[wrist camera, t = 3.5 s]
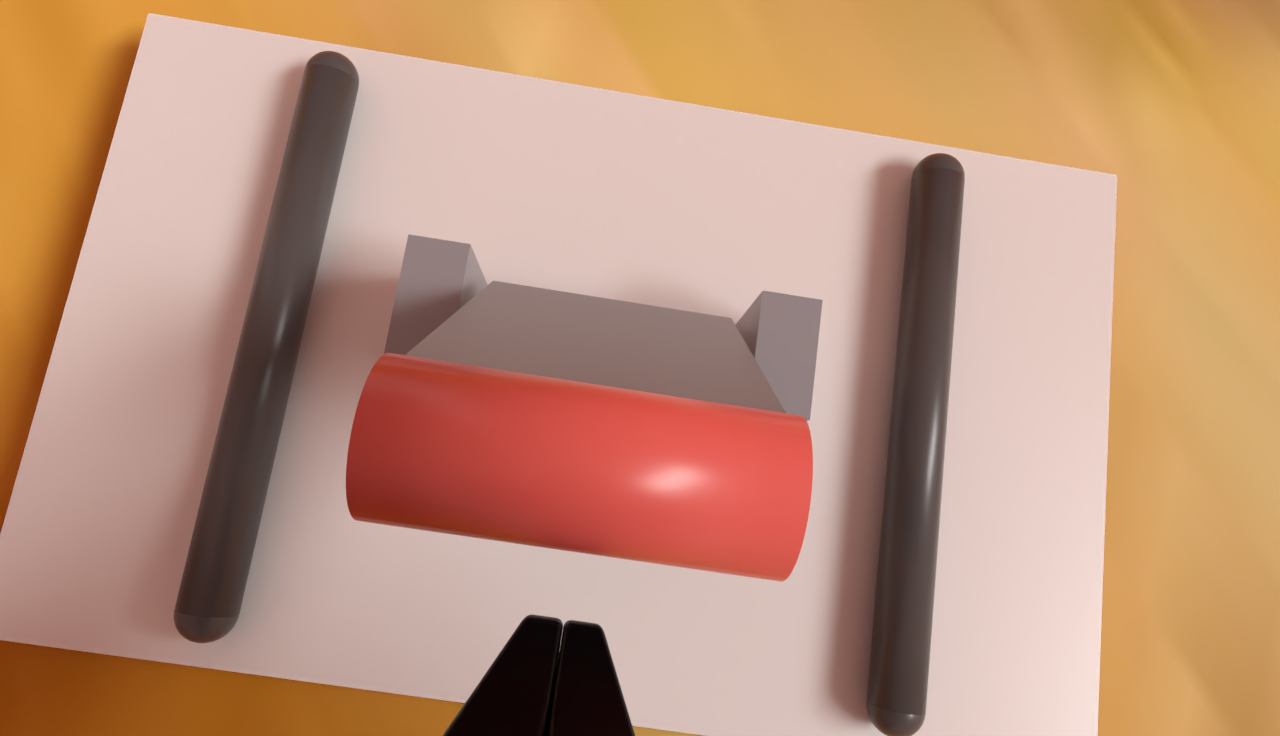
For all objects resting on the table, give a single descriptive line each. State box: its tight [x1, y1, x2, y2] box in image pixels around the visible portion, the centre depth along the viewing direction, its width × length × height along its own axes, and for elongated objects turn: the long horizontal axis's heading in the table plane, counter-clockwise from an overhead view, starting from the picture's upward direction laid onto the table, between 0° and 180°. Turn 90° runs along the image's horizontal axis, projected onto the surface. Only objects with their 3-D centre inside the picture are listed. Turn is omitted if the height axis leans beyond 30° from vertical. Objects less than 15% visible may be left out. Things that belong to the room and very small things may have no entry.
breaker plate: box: [0, 13, 1117, 736], centre depth 15 cm, size 12×20×4 cm, turn 82°
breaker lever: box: [346, 281, 813, 582], centre depth 11 cm, size 2×4×7 cm, turn 82°
